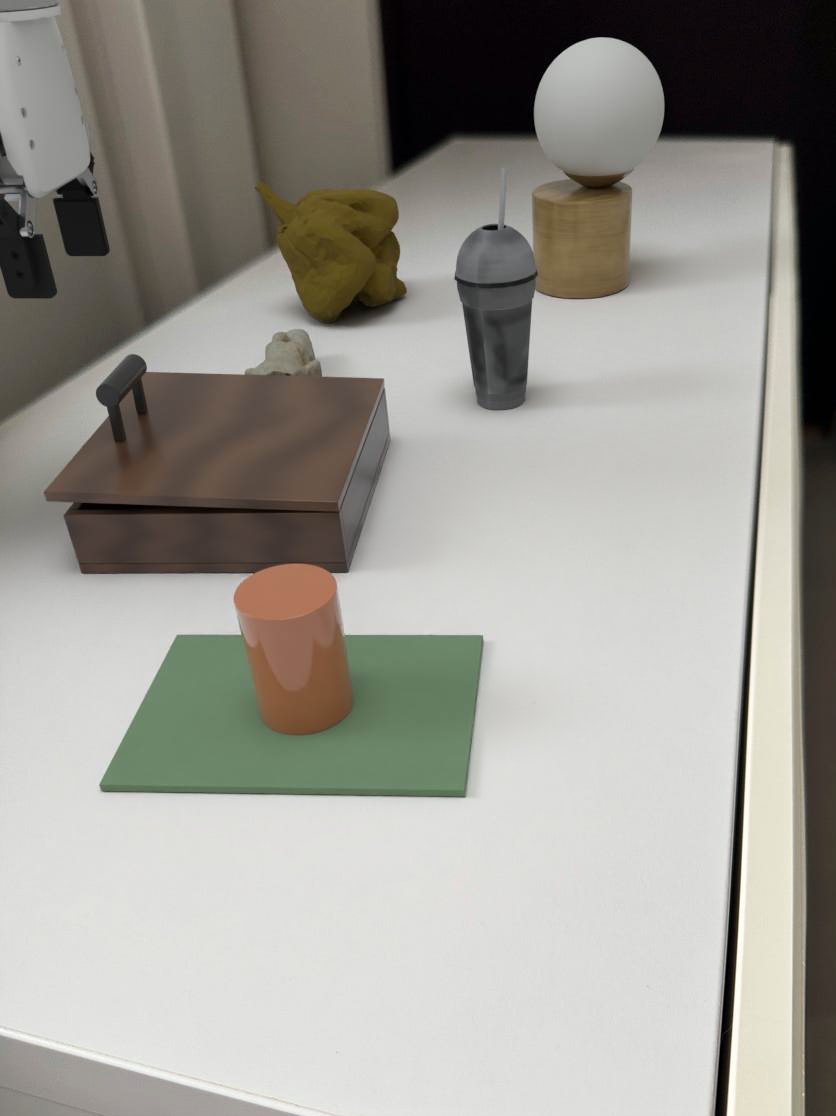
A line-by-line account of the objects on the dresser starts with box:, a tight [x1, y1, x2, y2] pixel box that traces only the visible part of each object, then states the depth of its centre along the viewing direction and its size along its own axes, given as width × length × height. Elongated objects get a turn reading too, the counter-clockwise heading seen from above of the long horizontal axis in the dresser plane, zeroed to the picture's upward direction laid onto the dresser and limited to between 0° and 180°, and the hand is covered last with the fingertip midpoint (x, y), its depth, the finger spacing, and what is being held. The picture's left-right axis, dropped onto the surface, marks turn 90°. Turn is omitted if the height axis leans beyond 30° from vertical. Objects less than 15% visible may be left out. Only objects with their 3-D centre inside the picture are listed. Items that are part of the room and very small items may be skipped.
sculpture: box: [244, 328, 323, 377], centre depth 101 cm, size 7×5×15 cm
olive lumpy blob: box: [254, 180, 408, 323], centre depth 117 cm, size 14×14×14 cm
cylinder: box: [233, 564, 354, 735], centre depth 60 cm, size 6×6×8 cm
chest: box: [63, 387, 391, 574], centre depth 83 cm, size 20×22×5 cm
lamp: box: [531, 36, 665, 299], centre depth 118 cm, size 15×14×25 cm
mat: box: [99, 634, 484, 797], centre depth 62 cm, size 20×14×1 cm
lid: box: [43, 353, 386, 512], centre depth 79 cm, size 20×22×5 cm
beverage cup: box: [454, 166, 538, 411], centre depth 92 cm, size 7×7×20 cm
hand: (62, 274), depth 74 cm, fingers open, 9 cm apart
